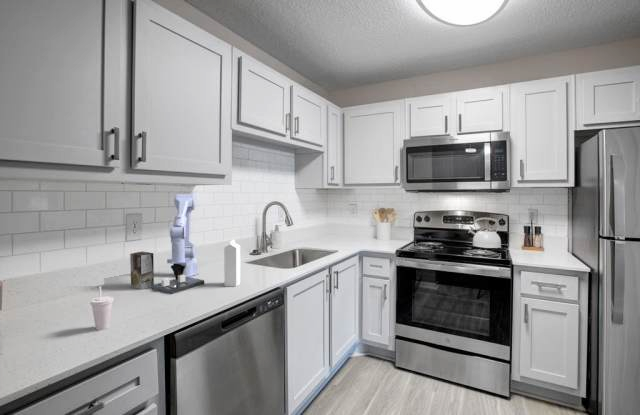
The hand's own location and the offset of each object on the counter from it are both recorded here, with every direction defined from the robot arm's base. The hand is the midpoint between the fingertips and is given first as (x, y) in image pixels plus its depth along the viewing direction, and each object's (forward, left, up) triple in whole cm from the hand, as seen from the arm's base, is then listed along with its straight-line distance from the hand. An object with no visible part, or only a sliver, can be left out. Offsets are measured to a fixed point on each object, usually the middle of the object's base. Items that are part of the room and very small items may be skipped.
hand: (178, 279), depth 156 cm
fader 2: (0, +2, -1) cm, 2 cm away
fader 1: (+8, +2, -1) cm, 8 cm away
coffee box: (+10, -13, -3) cm, 17 cm away
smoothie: (+44, +21, -3) cm, 49 cm away
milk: (-15, +21, -3) cm, 26 cm away
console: (+1, +2, -3) cm, 4 cm away
